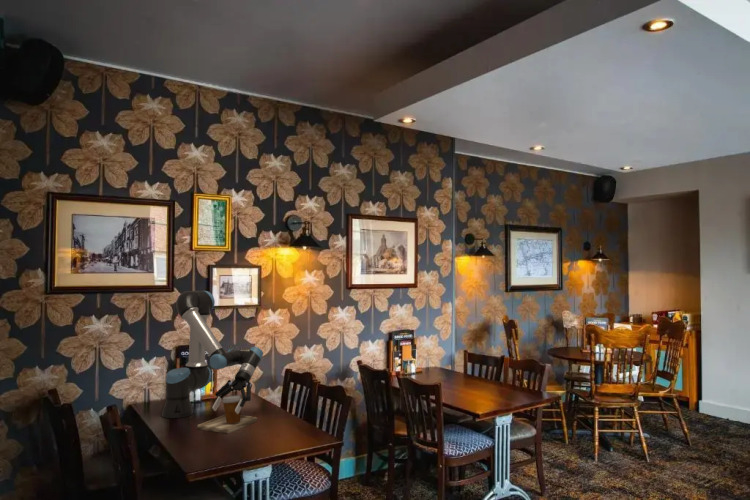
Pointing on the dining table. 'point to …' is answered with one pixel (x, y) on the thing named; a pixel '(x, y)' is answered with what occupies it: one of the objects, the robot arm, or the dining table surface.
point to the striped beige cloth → (226, 424)
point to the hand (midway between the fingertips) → (224, 410)
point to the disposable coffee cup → (231, 408)
